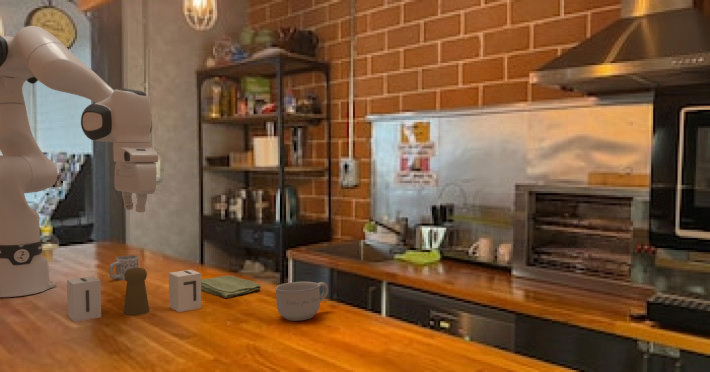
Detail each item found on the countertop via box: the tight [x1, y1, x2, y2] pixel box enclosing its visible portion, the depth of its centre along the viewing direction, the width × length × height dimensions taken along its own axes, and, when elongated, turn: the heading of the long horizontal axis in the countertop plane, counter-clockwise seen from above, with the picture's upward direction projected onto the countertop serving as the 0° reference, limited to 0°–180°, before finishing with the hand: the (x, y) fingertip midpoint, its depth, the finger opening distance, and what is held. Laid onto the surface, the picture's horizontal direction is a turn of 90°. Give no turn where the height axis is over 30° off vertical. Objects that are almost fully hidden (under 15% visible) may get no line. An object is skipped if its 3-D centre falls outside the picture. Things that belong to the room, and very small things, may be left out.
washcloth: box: [201, 275, 262, 299], centre depth 159 cm, size 13×18×3 cm
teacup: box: [274, 281, 329, 322], centre depth 132 cm, size 14×11×8 cm
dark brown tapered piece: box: [123, 267, 150, 316], centre depth 136 cm, size 6×6×11 cm
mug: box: [108, 254, 139, 281], centre depth 172 cm, size 10×7×7 cm, turn 154°
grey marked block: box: [66, 275, 102, 323], centre depth 132 cm, size 6×6×9 cm
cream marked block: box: [168, 269, 202, 313], centre depth 140 cm, size 6×6×9 cm
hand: (134, 210), depth 135 cm, fingers open, 7 cm apart
